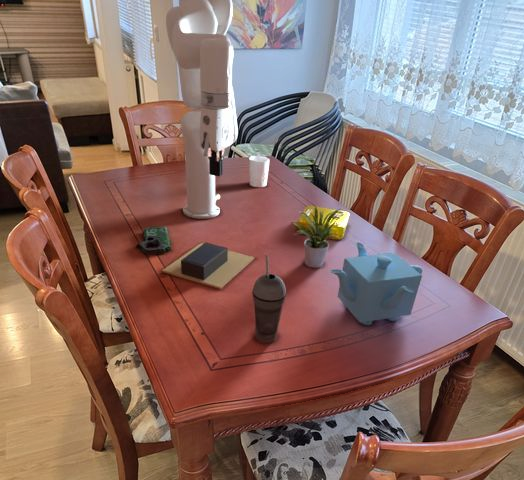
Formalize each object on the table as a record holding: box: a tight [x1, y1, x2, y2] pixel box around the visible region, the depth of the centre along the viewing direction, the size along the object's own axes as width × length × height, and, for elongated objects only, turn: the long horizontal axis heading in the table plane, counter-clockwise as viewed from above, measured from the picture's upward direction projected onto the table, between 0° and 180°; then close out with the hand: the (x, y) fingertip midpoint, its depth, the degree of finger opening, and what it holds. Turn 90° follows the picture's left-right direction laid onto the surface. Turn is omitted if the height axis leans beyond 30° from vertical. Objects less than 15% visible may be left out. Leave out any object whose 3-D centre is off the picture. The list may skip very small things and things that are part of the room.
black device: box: [181, 242, 229, 280], centre depth 127 cm, size 4×7×13 cm
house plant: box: [290, 204, 342, 269], centre depth 131 cm, size 14×14×16 cm
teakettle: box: [329, 242, 423, 326], centre depth 112 cm, size 19×19×15 cm
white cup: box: [248, 155, 270, 188], centre depth 184 cm, size 8×8×10 cm
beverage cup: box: [251, 253, 287, 344], centre depth 99 cm, size 7×7×20 cm
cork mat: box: [162, 242, 255, 290], centre depth 131 cm, size 20×18×1 cm
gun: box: [135, 225, 172, 255], centre depth 140 cm, size 16×2×10 cm
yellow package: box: [297, 205, 350, 241], centre depth 154 cm, size 15×15×5 cm
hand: (216, 174), depth 126 cm, fingers closed
